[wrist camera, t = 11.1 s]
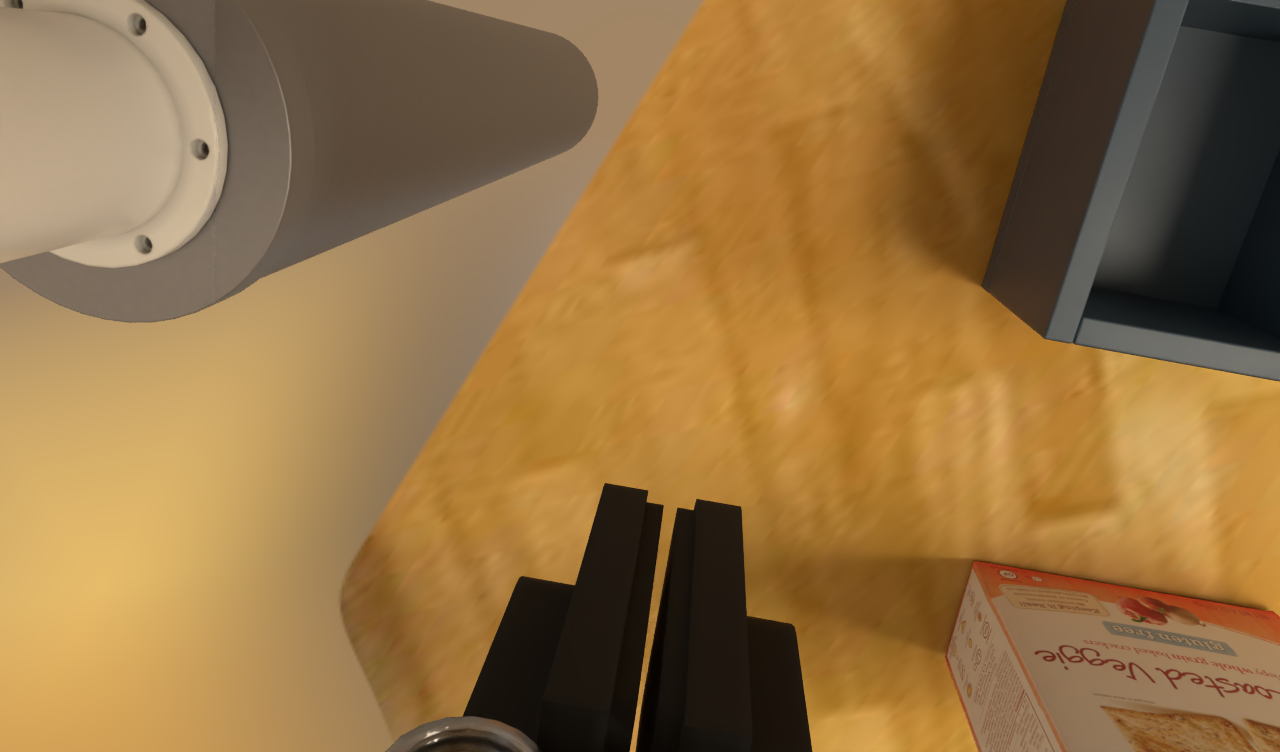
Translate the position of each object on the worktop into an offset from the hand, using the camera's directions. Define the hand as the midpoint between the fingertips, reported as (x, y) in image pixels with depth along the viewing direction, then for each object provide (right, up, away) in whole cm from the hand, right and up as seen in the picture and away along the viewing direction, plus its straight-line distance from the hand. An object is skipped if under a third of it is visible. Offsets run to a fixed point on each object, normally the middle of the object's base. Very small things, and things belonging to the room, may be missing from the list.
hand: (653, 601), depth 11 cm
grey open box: (+15, +11, +21) cm, 28 cm away
